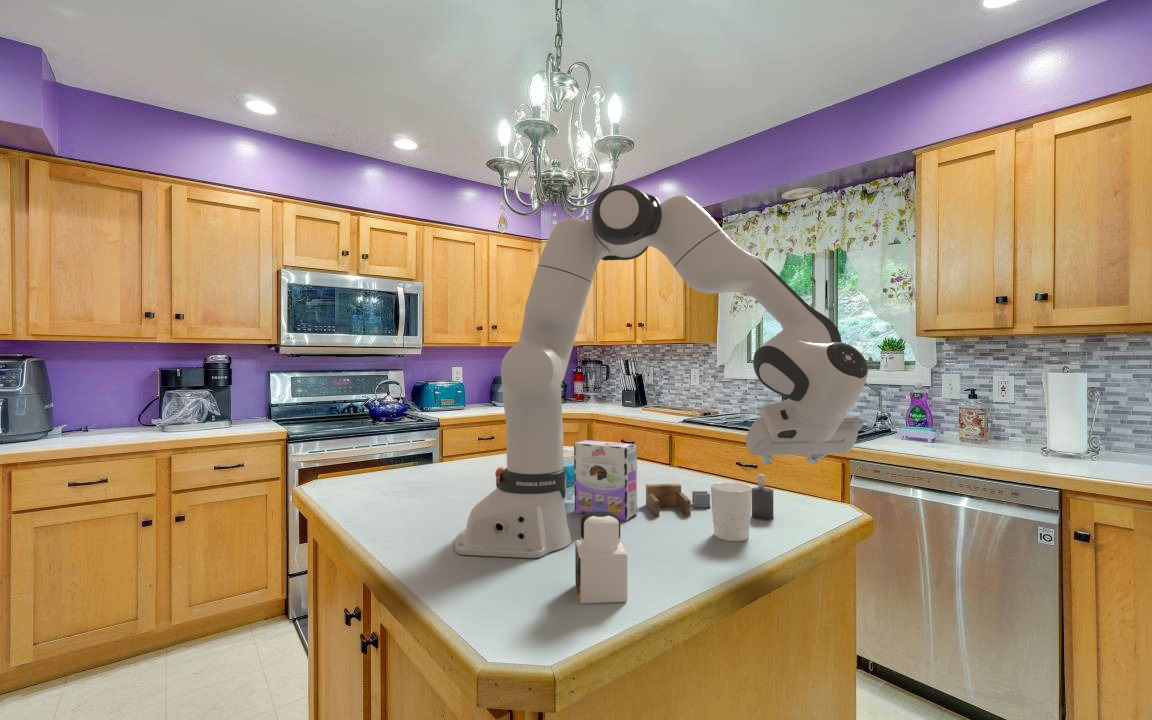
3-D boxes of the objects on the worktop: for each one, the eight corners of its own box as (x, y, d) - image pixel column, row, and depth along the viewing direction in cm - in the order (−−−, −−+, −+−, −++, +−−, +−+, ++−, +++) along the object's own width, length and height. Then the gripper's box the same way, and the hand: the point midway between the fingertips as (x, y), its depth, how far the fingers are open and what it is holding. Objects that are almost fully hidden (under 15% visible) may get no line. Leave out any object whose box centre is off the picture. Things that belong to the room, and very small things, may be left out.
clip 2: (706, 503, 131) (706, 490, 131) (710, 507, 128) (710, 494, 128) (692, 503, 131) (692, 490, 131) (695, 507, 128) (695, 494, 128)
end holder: (655, 516, 121) (654, 494, 120) (645, 504, 130) (645, 484, 130) (690, 516, 121) (690, 493, 121) (678, 504, 131) (678, 483, 131)
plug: (756, 520, 118) (756, 477, 118) (748, 514, 122) (748, 473, 122) (776, 520, 118) (777, 477, 118) (768, 514, 123) (768, 473, 123)
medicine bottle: (575, 584, 85) (575, 508, 85) (619, 582, 85) (619, 507, 85) (579, 604, 78) (579, 522, 78) (627, 602, 78) (627, 521, 78)
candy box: (638, 515, 121) (638, 443, 121) (626, 522, 117) (626, 447, 116) (586, 506, 129) (586, 438, 129) (573, 512, 124) (573, 441, 124)
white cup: (754, 544, 103) (754, 492, 103) (711, 541, 104) (711, 490, 104) (749, 531, 111) (749, 482, 110) (710, 528, 112) (710, 481, 112)
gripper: (859, 404, 101) (831, 447, 111) (754, 405, 100) (735, 449, 109) (874, 431, 97) (843, 473, 107) (765, 432, 95) (743, 475, 105)
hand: (788, 461), depth 108 cm, fingers open, 8 cm apart
